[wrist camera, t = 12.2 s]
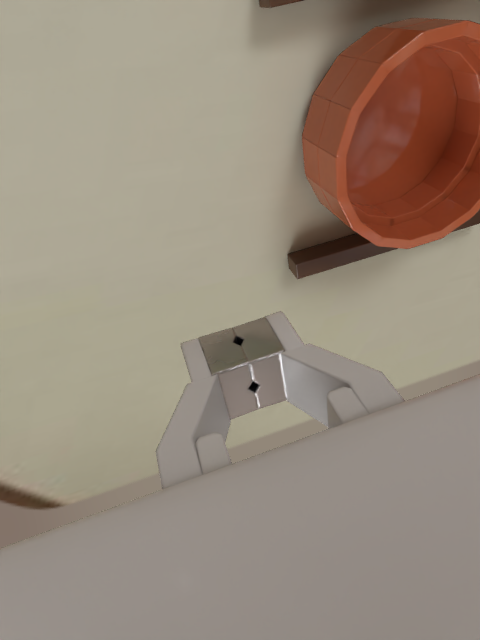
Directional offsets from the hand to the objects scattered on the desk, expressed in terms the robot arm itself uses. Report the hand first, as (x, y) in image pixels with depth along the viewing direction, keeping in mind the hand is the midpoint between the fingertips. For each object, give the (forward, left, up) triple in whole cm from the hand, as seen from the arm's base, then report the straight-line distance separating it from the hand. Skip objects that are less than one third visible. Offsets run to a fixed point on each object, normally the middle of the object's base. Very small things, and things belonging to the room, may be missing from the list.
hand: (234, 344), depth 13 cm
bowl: (+1, +14, -16) cm, 21 cm away
